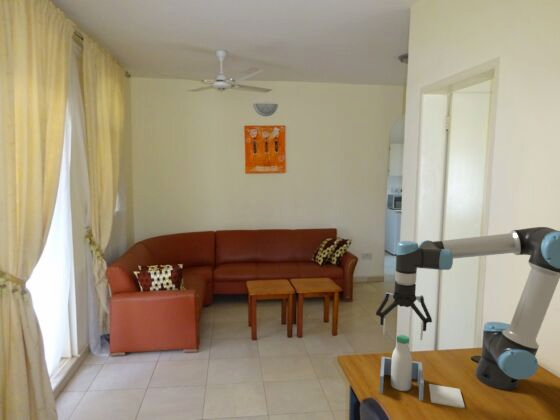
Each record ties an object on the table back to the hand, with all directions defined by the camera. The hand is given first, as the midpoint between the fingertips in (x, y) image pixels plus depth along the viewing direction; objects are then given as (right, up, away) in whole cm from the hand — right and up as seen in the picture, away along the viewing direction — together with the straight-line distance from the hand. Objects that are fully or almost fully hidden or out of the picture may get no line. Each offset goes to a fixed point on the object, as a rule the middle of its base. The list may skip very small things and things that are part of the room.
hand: (402, 335), depth 145 cm
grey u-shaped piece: (0, -20, +2) cm, 20 cm away
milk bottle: (0, -21, +2) cm, 21 cm away
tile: (+15, -21, -4) cm, 26 cm away
